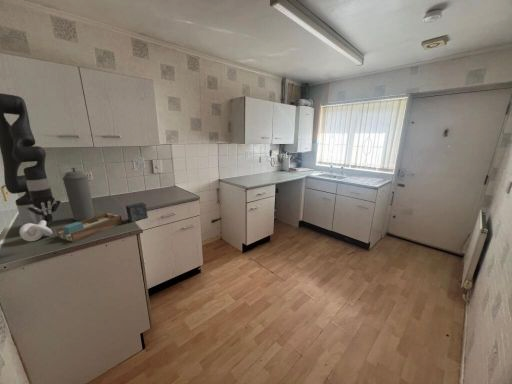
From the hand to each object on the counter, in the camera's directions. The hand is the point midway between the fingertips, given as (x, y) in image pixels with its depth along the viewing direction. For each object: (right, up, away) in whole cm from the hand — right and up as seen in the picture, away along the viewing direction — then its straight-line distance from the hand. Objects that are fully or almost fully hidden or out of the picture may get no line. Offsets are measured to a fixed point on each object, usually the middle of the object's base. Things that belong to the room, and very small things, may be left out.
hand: (48, 221), depth 105 cm
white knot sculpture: (-14, -11, +10) cm, 20 cm away
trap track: (+7, -8, +20) cm, 22 cm away
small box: (+25, -4, +36) cm, 44 cm away
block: (+3, -7, +11) cm, 14 cm away
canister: (-13, -3, +37) cm, 39 cm away
